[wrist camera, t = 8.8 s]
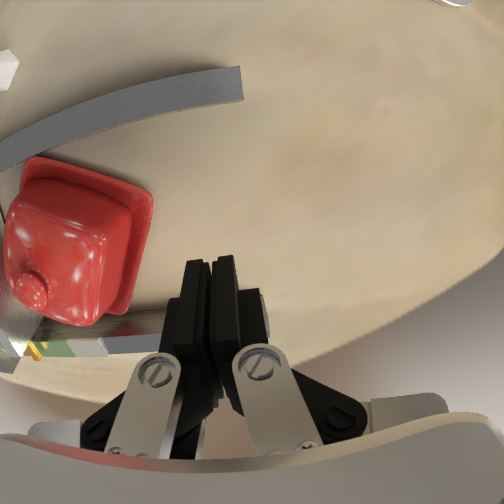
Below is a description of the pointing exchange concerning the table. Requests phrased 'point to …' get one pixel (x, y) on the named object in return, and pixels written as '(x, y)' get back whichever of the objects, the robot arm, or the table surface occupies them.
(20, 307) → the brushed metal plate
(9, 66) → the perfume bottle
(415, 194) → the table surface
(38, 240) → the butter dish
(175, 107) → the grey open box
